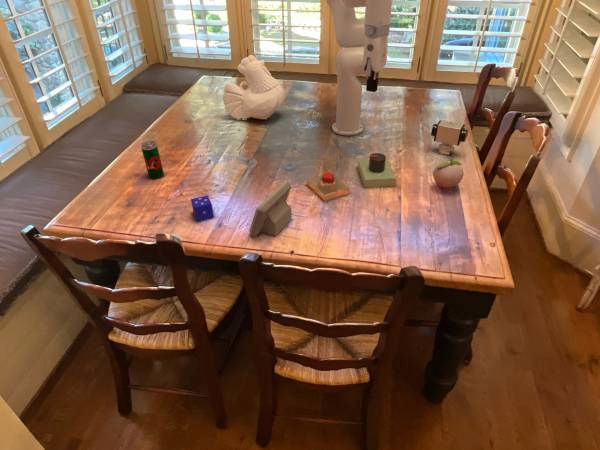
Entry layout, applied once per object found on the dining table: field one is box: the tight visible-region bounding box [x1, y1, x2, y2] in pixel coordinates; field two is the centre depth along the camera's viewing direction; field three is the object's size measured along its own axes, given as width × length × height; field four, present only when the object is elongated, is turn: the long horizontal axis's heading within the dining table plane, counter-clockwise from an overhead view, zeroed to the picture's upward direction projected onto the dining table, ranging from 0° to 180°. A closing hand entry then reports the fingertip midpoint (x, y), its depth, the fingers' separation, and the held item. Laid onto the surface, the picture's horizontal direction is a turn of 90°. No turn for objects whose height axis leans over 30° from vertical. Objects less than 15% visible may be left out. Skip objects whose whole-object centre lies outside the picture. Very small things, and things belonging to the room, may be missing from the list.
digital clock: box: [249, 181, 292, 237], centre depth 122 cm, size 16×9×11 cm, turn 140°
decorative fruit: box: [432, 159, 465, 189], centre depth 136 cm, size 9×8×10 cm
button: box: [321, 171, 335, 182], centre depth 137 cm, size 4×4×2 cm
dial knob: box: [368, 152, 387, 173], centre depth 142 cm, size 5×5×5 cm
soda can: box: [140, 140, 165, 180], centre depth 145 cm, size 5×5×12 cm
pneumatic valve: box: [430, 119, 469, 156], centre depth 155 cm, size 6×12×12 cm, turn 61°
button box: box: [306, 173, 350, 202], centre depth 139 cm, size 11×9×4 cm
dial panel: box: [357, 158, 397, 188], centre depth 145 cm, size 13×10×3 cm
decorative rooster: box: [222, 54, 286, 121], centre depth 182 cm, size 25×16×25 cm
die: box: [190, 195, 215, 222], centre depth 128 cm, size 5×5×5 cm
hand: (371, 90), depth 140 cm, fingers closed
